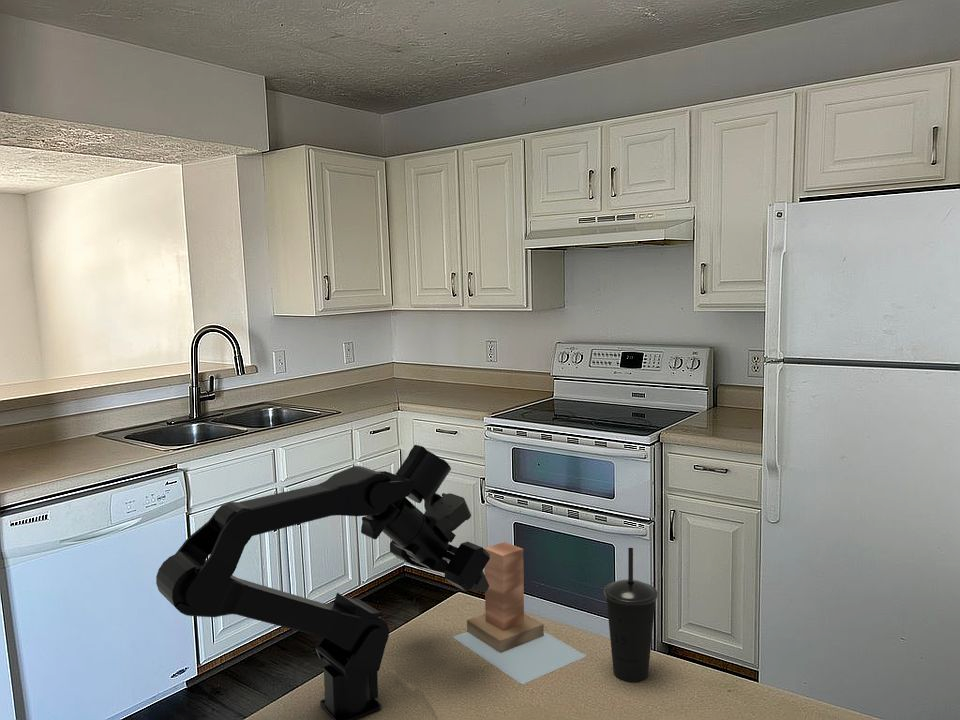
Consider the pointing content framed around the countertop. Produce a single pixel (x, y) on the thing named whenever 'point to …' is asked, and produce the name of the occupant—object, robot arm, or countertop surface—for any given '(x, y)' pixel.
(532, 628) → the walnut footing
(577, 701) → the countertop surface
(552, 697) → the countertop surface
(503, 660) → the board
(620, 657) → the drinking cup
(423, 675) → the countertop surface
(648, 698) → the countertop surface
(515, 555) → the terracotta pillar
